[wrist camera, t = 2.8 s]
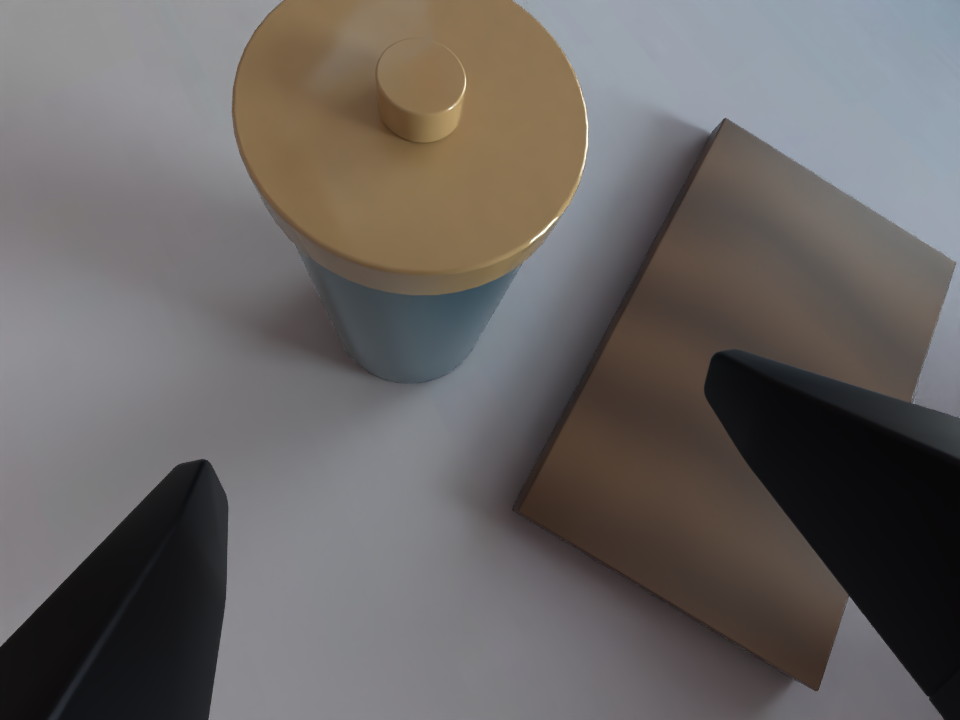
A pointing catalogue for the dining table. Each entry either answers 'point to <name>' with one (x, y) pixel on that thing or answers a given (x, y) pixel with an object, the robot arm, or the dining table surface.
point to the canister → (410, 162)
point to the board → (689, 417)
